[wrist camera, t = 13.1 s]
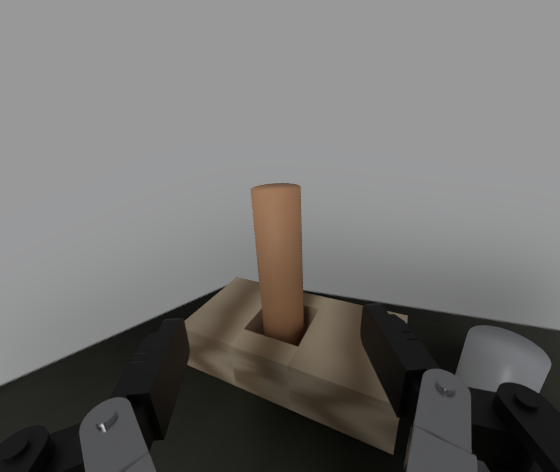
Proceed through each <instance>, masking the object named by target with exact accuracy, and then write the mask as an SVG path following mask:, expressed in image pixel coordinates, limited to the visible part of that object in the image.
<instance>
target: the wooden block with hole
mask: <svg viewBox="0 0 560 472" xmlns="http://www.w3.org/2000/svg"><path fill="white" fill-rule="evenodd" d="M362 308H363V306H362V305H358V304H353V303H349V302H344V301H340V300H335V299H331V298H326V297H322V296H318V295H313V294H309V293H304V292H303V315H304V337H303V339H302V341H301V343H300V344H299V346H295V345H292V344H289V343H285V342H282V341H279V340H276V339H273V338H270V337H267V336H264V326H263V316H262V305H261V294H260V284H259V282H255V281H251V280H246V279H242V278H236V279H235V280H233V281H232V282H231V283H230V284H228V285H227V286H226V287H225V288H224V289H222V290H221V291H220V292H219V293H218V294H216V295H215V296H214V297H213V298H212V299H210V300H209V301H208V302H207V303H205V304H204V305H203V306H202V307H201V308H199V309H198V310H197V311H196V312H195V313H193V314H192V315H191V316H190V317H189V318H187V319H186V320H185V321H184V322H185V327H186V331H187V336H188V341H189V346H190V354H189V360H188V363H187V365H189V366H191V367H194V368H196V369H198V370H200V371H203V372H205V373H207V374H210V375H212V376H214V377H216V378H219V379H221V380H223V381H226V382H228V383H230V384H232V385H235V386H237V387H239V388H242V389H244V390H246V391H248V392H251V393H253V394H255V395H257V396H260V397H262V398H264V399H267V400H269V401H271V402H273V403H276V404H278V405H280V406H283V407H285V408H287V409H289V410H292V411H294V412H296V413H299V414H301V415H303V416H305V417H308V418H310V419H312V420H314V421H317V422H319V423H321V424H324V425H326V426H328V427H330V428H333V429H335V430H337V431H340V432H342V433H344V434H346V435H349V436H351V437H353V438H356V439H358V440H360V441H362V442H365V443H367V444H369V445H372V446H374V447H376V448H378V449H381V450H383V451H385V452H387V453H390V454H392V455H393V453H394V447H395V441H396V435H397V429H398V423H399V418H397V416H396V414H395V412H394V410H393V408H392V406H391V404H390V402H389V400H388V398H387V395H386V393H385V391H384V389H383V387H382V385H381V383H380V381H379V379H378V377H377V375H376V372H375V370H374V368H373V366H372V364H371V362H370V360H369V358H368V356H367V354H366V351H365V349H364V347H363V345H362V342H361V337H360V328H361V318H362ZM387 312H388V313H389V314H395V315H397V316H398V317H400V318H401V319H402V320H404V321H405V322H406V323H407V319H408V316H407V315H402V314H398V313H393V312H389V311H387Z"/></svg>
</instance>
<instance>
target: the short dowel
mask: <svg viewBox="0 0 560 472" xmlns="http://www.w3.org/2000/svg"><path fill="white" fill-rule="evenodd" d="M550 368H551V361H550V359H549V357H548V356H547V354H546V353H545V352H544V351H543V350H542V349H541V348H540V347H538V346H537V345H536V344H534V343H533V342H531V341H530V340H528V339H526V338H524V337H523V336H520V335H518V334H516V333H514V332H511V331H509V330H506V329H502V328H499V327H494V326H486V325H481V326H475V327H472V328H471V329H470V330H469V331H468V334H467V337H466V340H465V344H464V347H463V350H462V354H461V357H460V360H459V364H458V367H457V370H456V374H455V375H456V376H457V377H458V378H460V379H461V380H462V381H463V382H464V383H465V384H466V386H468V387H472V388H476V389H482V390H487V391H492V392H496V391H497V389H498V387H499V385H500V384H502V383H505V382H512V383H517V384H521V385H524V386H526V387H528V388H530V389H532V390H534V391H536V392H537V393H539V392H540V389H541V387H542V385H543V383H544V381H545V379H546V376H547V374H548V372H549V370H550ZM477 465H478V472H490V471H489V470H488V468H487V466H486V465H485V463H484V462H483V461H479V460H477Z"/></svg>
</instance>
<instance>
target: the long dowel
mask: <svg viewBox="0 0 560 472" xmlns="http://www.w3.org/2000/svg"><path fill="white" fill-rule="evenodd" d="M300 194H301V192H300V186H299V185H296V184H289V183H277V184H276V183H275V184H265V185H260V186H256V187H253V188H252V189H251V197H252V209H253V219H254V230H255V241H256V251H257V261H258V273H259V284H260V294H261V305H262V316H263V326H264V336H267V337H270V338H273V339H276V340H279V341H282V342H285V343H289V344H292V345H295V346H299V344H300V343H301V341H302V339H303V337H304V315H303V274H302V232H301V195H300Z"/></svg>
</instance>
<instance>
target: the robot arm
mask: <svg viewBox="0 0 560 472" xmlns="http://www.w3.org/2000/svg"><path fill="white" fill-rule="evenodd" d="M360 337H361V342H362V345H363V347H364V349H365V351H366V354H367V356H368V358H369V360H370V362H371V364H372V366H373V368H374V370H375V372H376V375H377V377H378V379H379V381H380V383H381V385H382V387H383V389H384V391H385V393H386V395H387V398H388V400H389V402H390V404H391V406H392V408H393V410H394V412H395V414H396V416H397V418H399V417H408V418H409V420H410V422H411V429H410V434H409V439H408V445H407V450H406V455H405V461H404V466H403V471H402V472H478V465H477V460H479V461H483V462H484V463H485V465H486V466H487V468H488V470H489V471H490V472H560V413H559V412H558V411H557V410H556V409H555V408H554V407H553V406H552V405H551V404H550V403H549V402H548V401H547V400H546V399H545V398H544V397H543V396H541V395H540V394H539V393H537V392H536V391H534V390H532V389H530V388H528V387H526V386H524V385H521V384H517V383H512V382H505V383H502V384H500V385H499V387H498V389H497V391H496V392H492V391H487V390H482V389H476V388H472V387H468V386H466V384H465V383H464V382H463V381H462V380H461V379H460V378H458V377H457V376H456V375H454V374H452V373H450V372H448V371H445V370H441V368H440V367H439V366H438V364H437V363H436V362H435V360H434V359H433V358H432V356H431V355H430V354H429V352H428V351H427V350H426V348H425V347H424V346H423V344H422V343H421V342H420V341H419V340H418V338H417V337H416V335H415V334H414V333H413V332H412V330H411V329H410V327H409V326H408V325H407V323H406V322H405V321H404V320H402V319H401V318H400V317H398V316H397V315H395V314H389V313H388V312H387V310H386V309H385V308H384V306H383V305H382V304H381V303H378V304H365V305H363V308H362V318H361V328H360ZM189 354H190V346H189V341H188V336H187V331H186V327H185V322H184V319H183V318H173V319H164V320H163V322H162V324H161V326H160V328H159V330H158V332H151V333H150V334H149V335H148V336H147V337H146V338H145V339H144V340H142V341H141V343H140V345H139V346H138V348H137V350H136V352H135V355H133V357H132V359H131V361H130V364H128V366H127V368H126V370H125V372H124V373H123V375H122V377H121V379H120V381H119V382H118V384H117V386H116V388H115V389H114V391H113V393H112V395H111V397H110V398H109V400H106V401H104V402H102V403H101V404H99V405H97V406H96V407H95V408H94V409H92V410H91V411H90V412H89V413H88V415H87V416H86V417H85V418H84V420H83V422H81V423H79V424H76V425H74V426H71V427H68V428H66V429H63V430H60V431H58V432H55V433H52V434H49V432H48V430H47V429H46V428H45V427H43V426H39V425H38V426H31V427H28V428H25V429H22V430H20V431H18V432H16V433H15V434H13V435H11V436H10V437H8V438H7V439H6V440H4V441H3V442H2V443H1V444H0V472H156V470H155V467H154V465H153V462H152V459H151V457H150V454H149V451H150V448H151V445H152V442H153V441H157V440H164V438H165V435H166V432H167V429H168V425H169V422H170V419H171V416H172V412H173V409H174V406H175V403H176V399H177V396H178V393H179V390H180V386H181V383H182V380H183V376H184V373H185V370H186V367H187V363H188V360H189Z"/></svg>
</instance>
